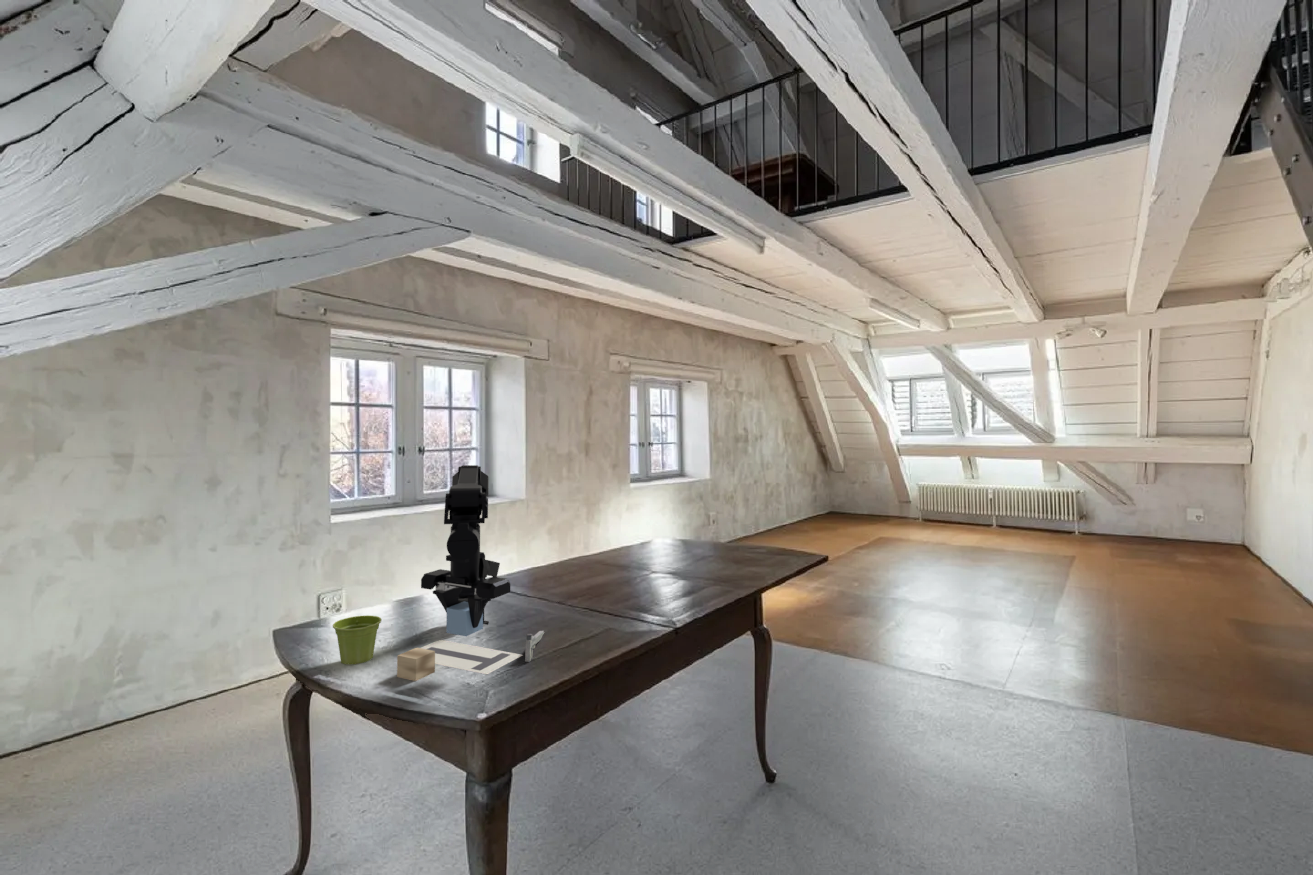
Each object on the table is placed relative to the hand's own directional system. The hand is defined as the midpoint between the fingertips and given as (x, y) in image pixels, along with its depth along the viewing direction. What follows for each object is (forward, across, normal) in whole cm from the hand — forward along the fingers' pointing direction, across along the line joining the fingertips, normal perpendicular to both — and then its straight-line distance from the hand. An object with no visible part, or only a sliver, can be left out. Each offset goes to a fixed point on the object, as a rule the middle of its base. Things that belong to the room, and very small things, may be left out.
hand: (464, 625), depth 121 cm
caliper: (+11, -4, -19) cm, 23 cm away
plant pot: (+11, +26, +4) cm, 29 cm away
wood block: (+10, +8, +5) cm, 14 cm away
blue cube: (+1, 0, 0) cm, 1 cm away
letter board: (+10, +7, -7) cm, 15 cm away
